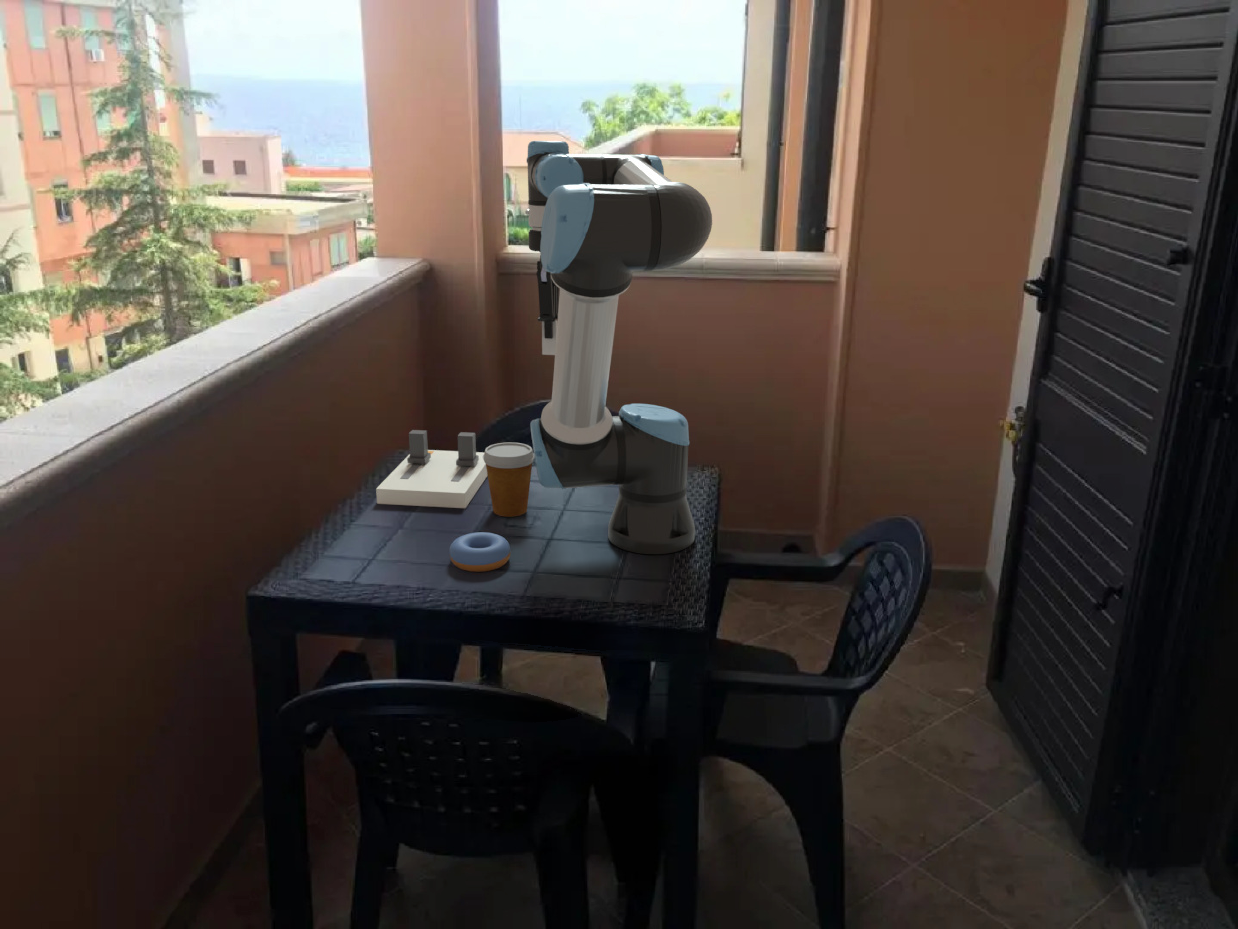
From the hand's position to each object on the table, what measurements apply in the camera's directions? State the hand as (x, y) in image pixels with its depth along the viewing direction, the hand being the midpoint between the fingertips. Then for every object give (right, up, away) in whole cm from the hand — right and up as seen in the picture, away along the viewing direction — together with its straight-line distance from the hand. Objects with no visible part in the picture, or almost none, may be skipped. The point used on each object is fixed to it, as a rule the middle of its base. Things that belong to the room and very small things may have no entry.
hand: (549, 353), depth 188 cm
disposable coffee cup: (-7, -30, -6) cm, 31 cm away
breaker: (-17, -21, +9) cm, 29 cm away
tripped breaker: (-27, -20, +10) cm, 35 cm away
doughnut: (-10, -38, -27) cm, 47 cm away
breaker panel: (-23, -25, +7) cm, 35 cm away
